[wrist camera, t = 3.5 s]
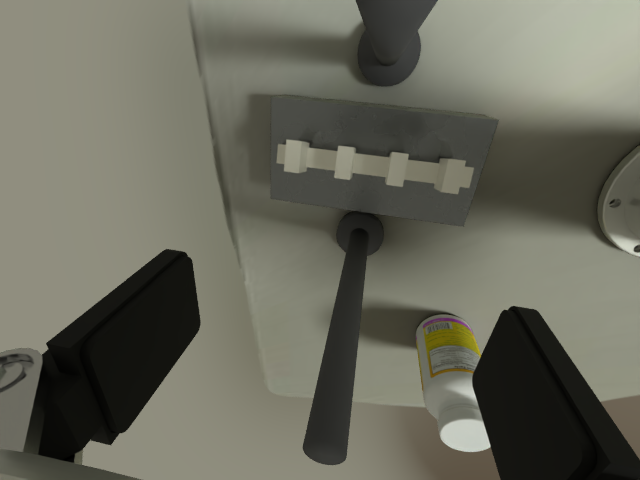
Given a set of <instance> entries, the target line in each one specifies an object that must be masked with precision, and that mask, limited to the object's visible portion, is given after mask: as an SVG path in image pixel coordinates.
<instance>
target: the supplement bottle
mask: <svg viewBox="0 0 640 480" xmlns="http://www.w3.org/2000/svg"><path fill="white" fill-rule="evenodd" d="M416 344H417V352H418V359H419V367H420V374H421V382H422V390H423V398H424V403H425V405H426V407H427V409H428V411H429V412H430V413H431V414H432V415H433V416H434V417H435V418H436V419H437V420H438V428H439V434H440V437H441V439H442V441H443V442H444V443H445V444H446V445H447V446H449V447H451V448H453V449H456V450H460V451H465V452H477V451H482V450H485V449H487V448H489V447H491V446H490V442H489V439H488V436H487V433H486V429H485V426H484V423H483V419H482V416H481V413H480V409H479V406H478V403H477V399H476V396H475V393H474V390H473V386H472V376H473V373H474V371H475V368H476V366H477V364H478V362H479V360H480V358H481V354H480V351H479V349H478V346H477V343H476V340H475V337H474V335H473V332H472V330H471V328H470V326H469V325H468V324H467V323H466V322H465V321H464V320H462V319H461V318H458V317H456V316H452V315H445V314H442V315H435V316H432V317H429V318H427V319H426V320H424V321H423V322H422V323H421V324H420V325H419V327H418V328H417V331H416Z"/></svg>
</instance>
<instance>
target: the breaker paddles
mask: <svg viewBox="0 0 640 480" xmlns="http://www.w3.org/2000/svg"><path fill="white" fill-rule="evenodd" d="M408 156H409V154H405V153H397V152H390V156H389V157H382V156H374V155H365V154H357V153H356V148H354V147H346V146H338V151H332V150H324V149H316V148H309V143H308V142H303V141H296V140H287V139H286V145H283V144H278V150H277V163H279V164H284V171H285V172H293V173H302V172H306V171H307V167H310V168H318V169H325V170H333V171H335V175H334V178H338V179H346V180H350V179H351V178H352V174H353V173H356V174H364V175H372V176H380V177H386V179H385V183H386V185H391V186H399V187H403V182H404V180H411V181H419V182H426V183H434V189H436V190H438V191H440V192H444V193H452V194H458V192H459V188H460V187H465V188H469V187H470V183H471V179H472V175H473V171H474V168H473V167H465V163H466V161H464V160H456V159H445V158H440V161H439V163H432V162H423V161H415V160H408Z"/></svg>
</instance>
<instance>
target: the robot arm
mask: <svg viewBox="0 0 640 480" xmlns="http://www.w3.org/2000/svg"><path fill="white" fill-rule="evenodd" d="M597 214H598V222H599V224H600V227H601V230H602V232H603V233H604V234H605V236H606V237H607V238H608V240H610V241H611V242H612V243H613V244H615V245H616V246H617V247H618V248H620V249H622V250H623V251H625V252H627V253H628V254H631V255H634V256H637V257H639V258H640V145H639V146H637V147H636V148H635V149H634V150H633V151H632V152H630V153H629V154H628V155H627V156H626V157H625V158H624V159H623V160H622V161H621V162H620V163H619V164H618V166H617V167H616V168H615V169H614V170H613V171H612V173H611V174H610V176H609V178H608V179H607V181H606V182H605V184H604V186H603V189H602V191H601V194H600V197H599V201H598V208H597ZM199 328H200V315H199V307H198V301H197V293H196V286H195V278H194V271H193V263H192V260H191V258H189V257H188V255H187V254H186V253H185V252H182V251H176V250H169V249H166V250H164V251H162V252H161V253H160V254H159V255H158V256H156V257H155V258H153V259H152V260H151V261H150V262H148V263H147V264H146V265H145V266H143V267H142V268H141V269H140V270H138V271H137V272H136V273H134V274H133V275H132V276H131V277H129V278H128V279H127V280H126V281H124V282H123V283H122V284H121V285H119V286H118V287H117V288H115V289H114V290H113V291H112V292H110V293H109V294H108V295H107V296H105V297H104V298H103V299H102V300H100V301H99V302H98V303H96V304H95V305H94V306H93V307H92V308H90V309H89V310H88V311H86V312H85V313H84V314H83V315H82V316H80V317H79V318H77V319H76V320H75V321H74V322H73V323H71V324H70V325H69V326H67V327H66V328H65V329H64V330H62V331H61V332H60V333H59V334H57V335H56V336H55V337H54V338H52V339H51V340H50V341H48V342H47V343H46V344H47V346H48V350H47V351H46V352H45V353H44V354H42V355H41V354H40V353H39V352H38V351H37V350H33V349H30V348H19V349H13V350H8V351H4V352H1V353H0V480H141V479H137V478H133V477H129V476H125V475H121V474H117V473H113V472H109V471H105V470H101V469H97V468H93V467H88V466H84V465H82V455H83V448H84V447H85V446H86V444H87V443H88V442H89V441H90V439H91V440H92V441H96V442H100V443H104V444H108V445H111V444H112V443H113V441H114V440H115V439H116V437H117V436H118V435H119V433H123V432H125V431H126V430H127V429H128V428H129V427H130V425H131V424H132V423H133V421H134V420H135V419H136V417H137V416H138V415H139V413H140V412H141V410H142V409H143V408H144V406H145V405H146V403H147V402H148V401H149V399H150V398H151V397H152V395H153V394H154V392H155V391H156V390H157V388H158V387H159V385H160V384H161V382H162V381H163V380H164V378H165V377H166V376H167V374H168V373H169V372H170V370H171V369H172V367H173V366H174V365H175V363H176V362H177V360H178V359H179V358H180V356H181V355H182V353H183V352H184V351H185V349H186V348H187V346H188V345H189V344H190V342H191V341H192V340H193V338H194V337H195V335H196V334H197V332H198V331H199ZM472 386H473V390H474V393H475V396H476V399H477V403H478V406H479V409H480V413H481V416H482V419H483V423H484V426H485V429H486V433H487V436H488V439H489V442H490V446H491V449H492V452H493V456H494V459H495V462H496V465H497V469H498V472H499V476H500V478H501V480H640V460H639V458H638V457H637V456H636V454H635V452H634V451H633V449H632V448H631V446H630V445H629V444H628V442H627V441H626V439H625V438H624V436H623V435H622V433H621V432H620V431H619V429H618V428H617V426H616V425H615V423H614V422H613V420H612V419H611V417H610V416H609V414H608V413H607V412H606V410H605V408H604V407H603V406H602V404H601V403H600V401H599V400H598V398H597V397H596V395H595V394H594V392H593V391H592V389H591V388H590V386H589V385H588V384H587V382H586V381H585V379H584V378H583V376H582V375H581V373H580V372H579V370H578V369H577V367H576V366H575V365H574V363H573V362H572V360H571V359H570V357H569V356H568V354H567V353H566V351H565V350H564V348H563V347H562V346H561V344H560V343H559V341H558V340H557V338H556V337H555V335H554V334H553V332H552V331H551V329H550V328H549V326H548V325H547V324H546V322H545V321H544V319H543V318H542V316H541V315H540V313H539V312H538V311H537V310H534V309H528V308H522V307H516V306H512V307H510V308H509V309H508V310H503V311H502V313H501V314H500V316H499V319H498V321H497V323H496V325H495V327H494V329H493V332H492V334H491V336H490V338H489V340H488V342H487V345H486V347H485V349H484V351H483V353H482V355H481V358H480V360H479V362H478V364H477V366H476V368H475V371H474V373H473V376H472Z"/></svg>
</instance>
